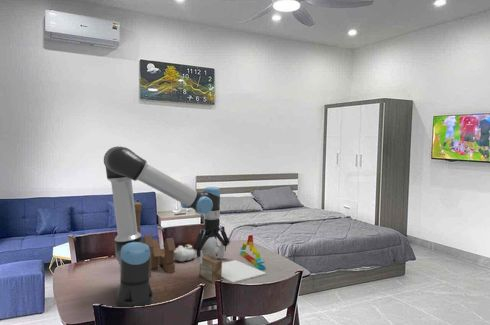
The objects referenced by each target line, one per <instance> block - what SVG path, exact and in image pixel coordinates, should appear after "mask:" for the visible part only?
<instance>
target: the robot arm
mask: <svg viewBox="0 0 490 325" xmlns="http://www.w3.org/2000/svg"><path fill="white" fill-rule="evenodd" d="M103 165H104V167H105V173H106V179H107V180H108V181H109V182H110V183H111V191H112V201H113V209H114V215H115V223H116V231H117V235H116V236H115V238H114V246H115V248H114V255H115V259H116V260H117V262H118V264H119V266H120V280H119V282H120V283H119V286H118V289H117V291H116V292H117V293H116V295H115V301H114V302H115V305H116V306H118V307H119V308H122V307H134V306H143V307H145V306H144V305H146V306H149V305H150V304H152V302H153V301H154V293H153V289H152V286H151V283H150V277H149V268H150V248H149V246H148V245H146V244H144V243H142V240H143V236H142V234H141V232H140V233H139V232H138V231H137V223H136V214H135V206H134V202H135V198H134V191H133V182H132V181H134V182H136V181H139V182H141V183H143V184H146V185H147V186H148V187H151V188H153V189H155V190H157V191H158V192H160V193H162V194H164V195H166V196H167V197H170V198H172V199H173V200H175V201H178V202H180V206H181V208H182V209H192V210H194V211H196V212H198V213H199V214H203V215H204V219H203V220H204V221H203V222H204V229H201V228H199V230H198V235H197V236H196V239H195V241H194V244H193V246H192V249H193V250H194V251H196V258H197V257H198V258H197V263H198V264H199V265H200V264H202V256H203V254H202V250H201V249H202V247H203V246H204V244H205V243H206V241H207V239H209V237H210V238H211V237H215V238H217V239H218V241H219V242H220V243H221V244H222V245H221V244H220V246H221V255H220V258H221V259H225V258H226V251H227V247H228V246H227V244H229V240H228V238H229V237H228V235H227V233H226V229H225V226H223V225H220V222H221V221H220V216H221V215H220V214H221V213H220V211H221V207H220V206H221V189H220V188H219V187H216V186H206V187H204V191H196V189H193V188H191V187H189V186H187V185H186V184H184V183H182V182H181V181H178V180H177V179H175V178H173V177H172V176H170V175H168V174H166V173H164V172H162V171H161V170H159V169H157V168H155V167H154V166H151V165H150V164H148V161H147V160H146V159H144V158H143V157H141V156H139V155H137V154H136V153H135V152H134V151H133V150H131V149H130V148H128V147H124V146H121V145H120V146H119V145H118V146H113V147H111V148H109V149H108V150H107V151H106V152H105V153H104V155H103ZM219 232H220V233H219ZM204 233H205V234H204ZM203 234H204V236H203ZM202 237H203V238H202ZM229 245H230V244H229ZM226 246H227V247H226Z"/></svg>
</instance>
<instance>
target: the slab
mask: <svg viewBox="0 0 490 325" xmlns="http://www.w3.org/2000/svg"><path fill="white" fill-rule="evenodd" d="M222 263H223V260H221V259H219V258H218V259H216V258H214V257H213V256H211V255H205V256H203V255H202V264H200V263H199V277H200V278H203V279H204V280H206V281H208V282H210V283H212V284H215V283H214V281H215V280H221V281H222V278H221V277H222Z"/></svg>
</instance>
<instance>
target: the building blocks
mask: <svg viewBox="0 0 490 325" xmlns="http://www.w3.org/2000/svg"><path fill="white" fill-rule="evenodd" d="M134 206H135V214H136V223H137V231H138V232H139V233H140V234H141V212H143V204H142V203H141V202H140V201H134ZM142 243H144V244H146V245H148V246H149V248H150V268H149V278H150V277H151V276H152V269H159V266H160V267H161V266H162V269H164V271H165V272H166V273H168V274H169V273H171V274H172V273H175V272H176V268H175V267H176V265H175V263H174V260H175V259H174V251H175V250H176V248H177V247H176V243H175V241H174V238H173V237H169V238H166V239H165V240H164V243H163V247H164V248H161V246H160V244H159V243H160V242H159V239H158V238H156V239H155V238H154V239H153V234H152V233H151V234H144V235H143V236H142Z"/></svg>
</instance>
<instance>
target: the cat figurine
mask: <svg viewBox="0 0 490 325" xmlns="http://www.w3.org/2000/svg"><path fill="white" fill-rule="evenodd" d="M175 248H176V250H175V251H174V260H176V261H178V262H180V263H181V262H182V263H183V262H185V261H191V260H192V259H194V258H195V256H196V250H195V249H193V246H192V244H184V246H183V245H178V247H175Z"/></svg>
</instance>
